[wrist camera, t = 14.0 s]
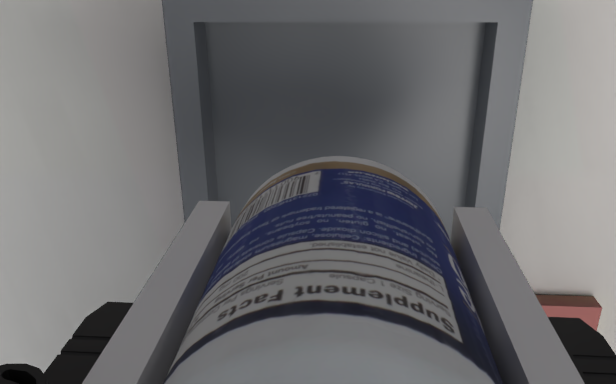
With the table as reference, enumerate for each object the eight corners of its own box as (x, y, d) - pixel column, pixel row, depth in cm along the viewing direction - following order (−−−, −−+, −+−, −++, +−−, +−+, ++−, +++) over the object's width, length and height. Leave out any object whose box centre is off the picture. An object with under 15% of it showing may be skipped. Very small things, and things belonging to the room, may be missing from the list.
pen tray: (204, 273, 24) (192, 299, 22) (178, -12, 20) (161, -10, 18) (476, 282, 23) (487, 309, 22) (516, -13, 19) (534, -11, 17)
